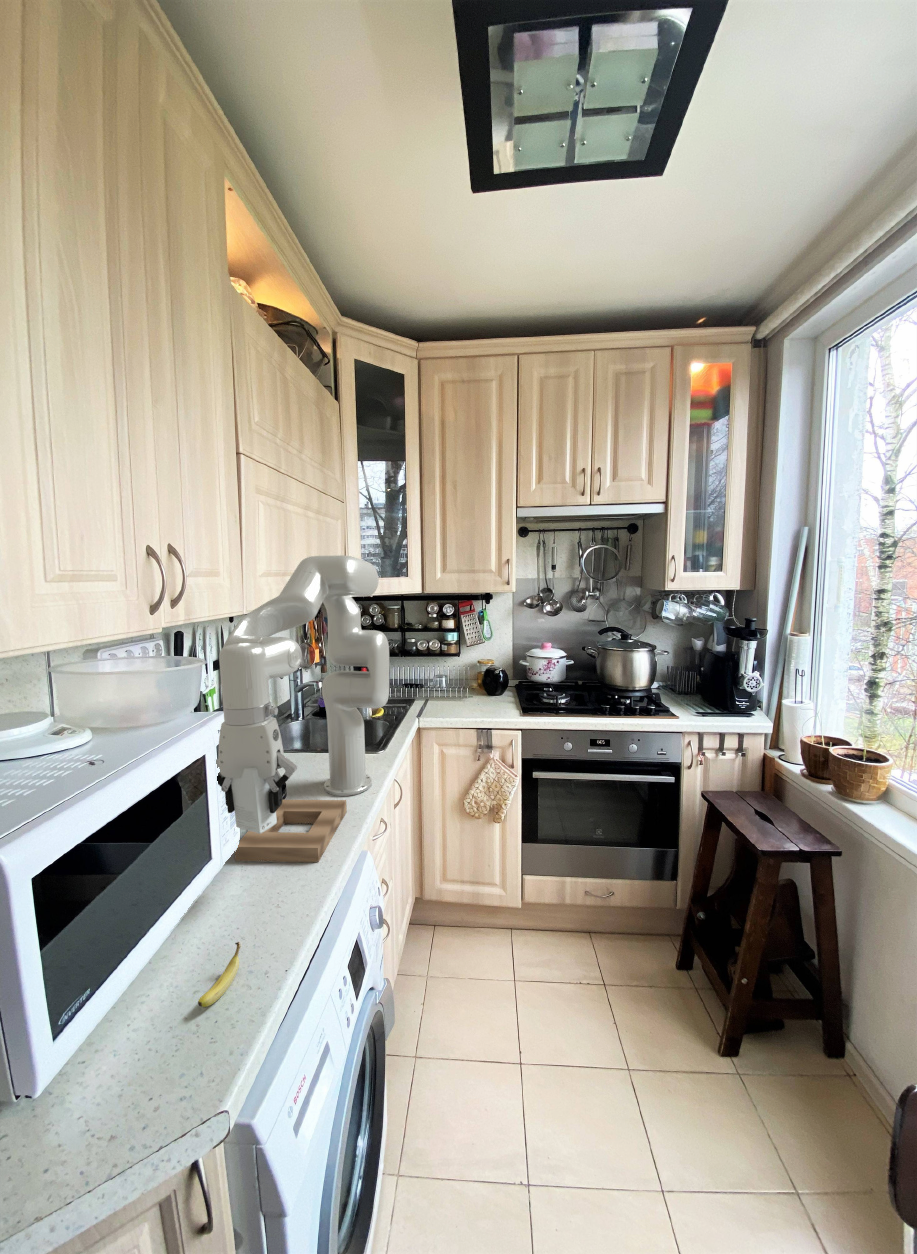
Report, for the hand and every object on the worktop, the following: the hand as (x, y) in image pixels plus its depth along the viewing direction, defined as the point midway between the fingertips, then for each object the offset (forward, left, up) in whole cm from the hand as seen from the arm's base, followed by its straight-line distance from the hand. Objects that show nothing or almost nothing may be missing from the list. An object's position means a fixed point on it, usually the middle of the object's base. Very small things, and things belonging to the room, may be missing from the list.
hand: (254, 808), depth 85 cm
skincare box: (0, 0, -4) cm, 4 cm away
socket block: (-18, 0, -15) cm, 23 cm away
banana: (+21, +5, -15) cm, 27 cm away
